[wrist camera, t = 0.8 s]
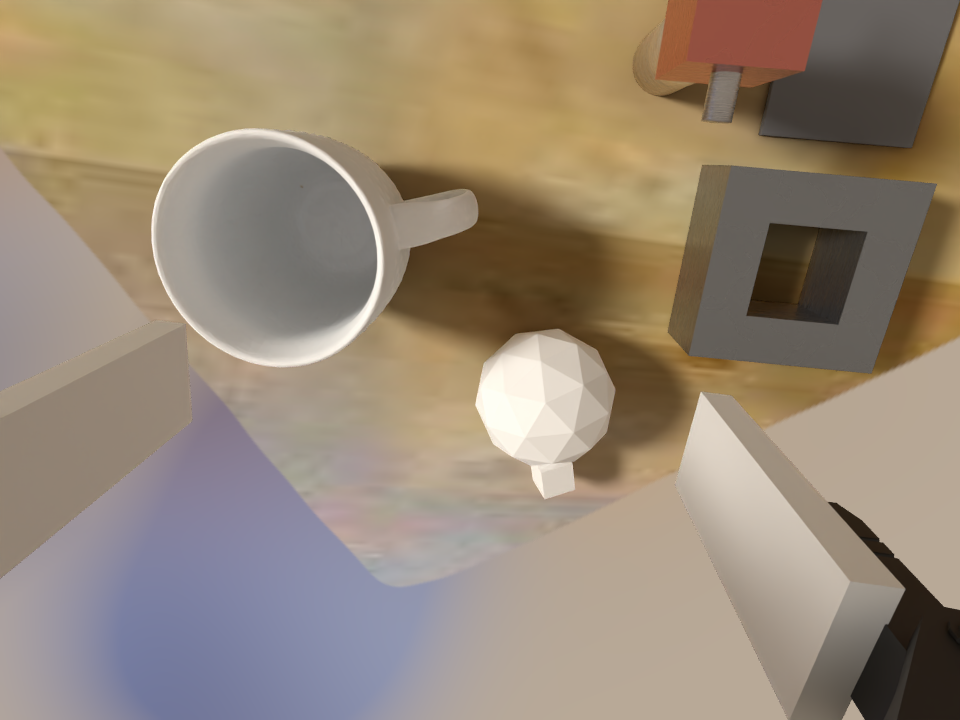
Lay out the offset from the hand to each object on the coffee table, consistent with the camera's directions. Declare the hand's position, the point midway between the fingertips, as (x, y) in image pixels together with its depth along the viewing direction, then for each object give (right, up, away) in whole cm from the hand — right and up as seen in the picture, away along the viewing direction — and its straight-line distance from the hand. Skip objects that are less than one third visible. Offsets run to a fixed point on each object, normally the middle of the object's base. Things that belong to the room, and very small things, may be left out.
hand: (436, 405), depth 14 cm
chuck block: (+20, +8, +22) cm, 31 cm away
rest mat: (+23, +19, +18) cm, 35 cm away
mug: (-7, +10, +23) cm, 27 cm away
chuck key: (+12, +19, +19) cm, 29 cm away
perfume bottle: (+5, -1, +27) cm, 27 cm away
